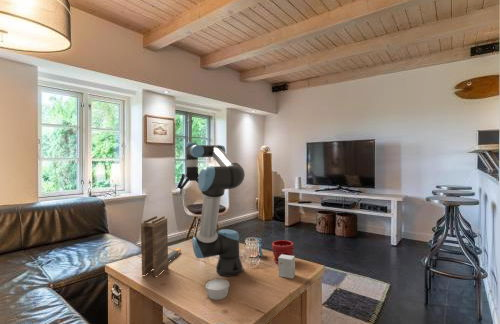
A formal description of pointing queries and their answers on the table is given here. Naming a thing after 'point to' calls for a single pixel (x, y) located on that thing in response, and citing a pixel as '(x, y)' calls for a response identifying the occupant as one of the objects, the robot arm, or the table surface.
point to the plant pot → (282, 248)
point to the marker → (174, 254)
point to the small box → (286, 266)
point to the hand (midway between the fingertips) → (192, 199)
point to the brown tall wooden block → (154, 245)
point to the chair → (259, 246)
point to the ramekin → (217, 289)
